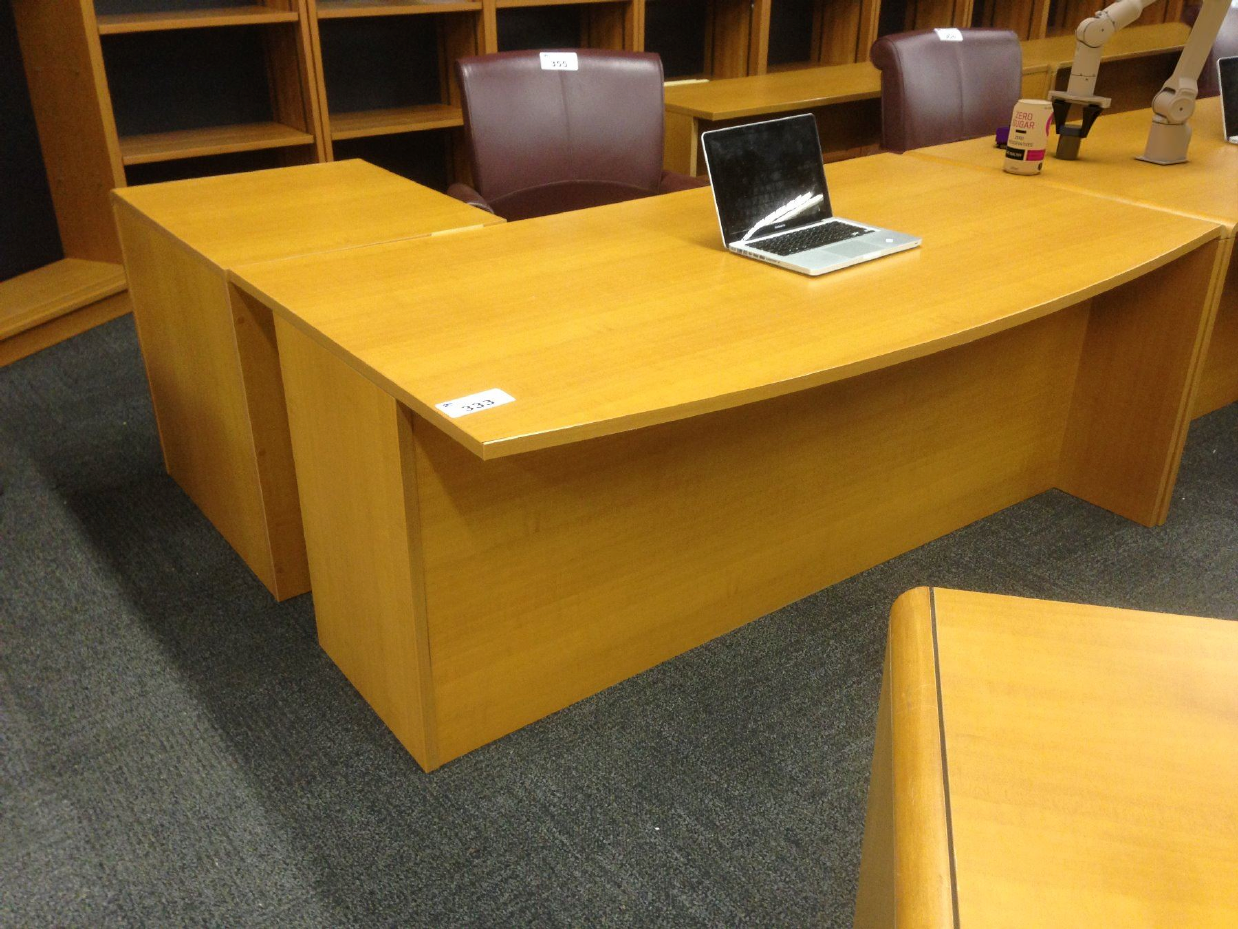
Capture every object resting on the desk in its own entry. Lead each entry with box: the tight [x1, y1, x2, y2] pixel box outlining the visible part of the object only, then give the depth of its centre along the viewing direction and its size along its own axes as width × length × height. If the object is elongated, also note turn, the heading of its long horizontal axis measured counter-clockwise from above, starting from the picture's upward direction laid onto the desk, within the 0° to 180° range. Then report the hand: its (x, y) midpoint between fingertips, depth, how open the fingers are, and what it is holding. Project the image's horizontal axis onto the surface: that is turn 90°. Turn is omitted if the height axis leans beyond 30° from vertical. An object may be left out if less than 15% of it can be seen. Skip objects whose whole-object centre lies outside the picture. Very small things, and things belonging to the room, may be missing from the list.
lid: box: [1059, 123, 1082, 136], centre depth 247 cm, size 6×6×2 cm
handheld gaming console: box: [994, 124, 1011, 150], centre depth 262 cm, size 9×5×15 cm
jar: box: [1054, 134, 1083, 161], centre depth 248 cm, size 5×5×7 cm
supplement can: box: [1002, 98, 1054, 176], centre depth 232 cm, size 8×8×15 cm
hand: (1070, 135), depth 247 cm, fingers closed on lid, 5 cm apart
